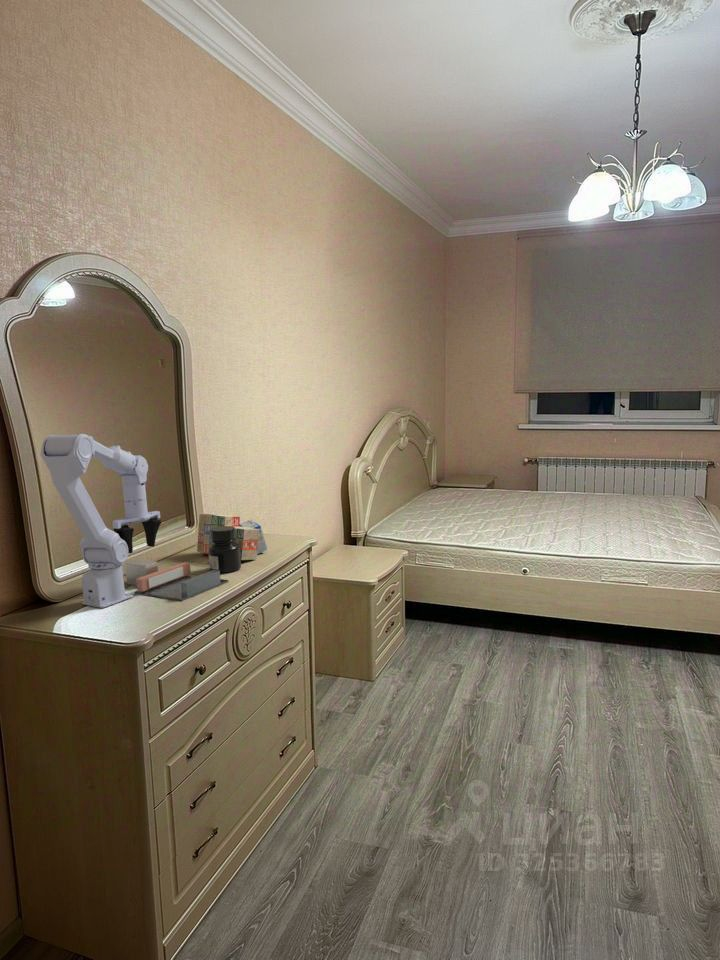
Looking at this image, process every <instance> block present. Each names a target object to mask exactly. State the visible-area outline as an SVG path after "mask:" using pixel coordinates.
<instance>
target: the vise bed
mask: <svg viewBox="0 0 720 960" xmlns="http://www.w3.org/2000/svg"><path fill="white" fill-rule="evenodd" d="M226 583H229V580H228V579H223V578H222V579H221V573H220V570H212V571H210V570H209V571H206V572H204V573H202V574H199V575H194V574H189V575H187V576H184V577H181V578H178V579H176V580H173V581H170V582H168V583H165V584H162V585H160V586H157V587H154V588H151V589H149V590H146V591H143V592H142V591H137V590H135V591H134V593H135V594H138V595H142V596H149V597H155V598H161V599H166V600H172V601H179V602H184V601H185V600H188V599H191V598H194V597H196V596H198V595H200V594H203V593H206V592H208V591H210V590H213V589H215V588H218V587H220V586H222V585H225V584H226Z"/></svg>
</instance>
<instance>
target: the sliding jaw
mask: <svg viewBox="0 0 720 960" xmlns="http://www.w3.org/2000/svg"><path fill="white" fill-rule="evenodd" d="M191 573H192V572H191V562H186V561H184V562H181V563H178V564H175V565H173V566H168V567H167V568H163V569H160V570H158V571H157V572H154V573H152V574H149V575H146V576H143V577H140V578H137V579H136V581H137V585H136V589H137V590H136V591H142V592H143V591H146V590H149V589H151V588H154V587H157V586H160V585H162V584H165V583H168V582H170V581H173V580H176V579H178V578H181V577H184V576H187V575H192V574H191Z"/></svg>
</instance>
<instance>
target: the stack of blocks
mask: <svg viewBox="0 0 720 960" xmlns="http://www.w3.org/2000/svg"><path fill="white" fill-rule="evenodd" d="M240 520H241V516H236V515H229V514H227V515H226V514H221V513H220V514H219V513H199V516H198V530H197V533H198V534H197V543H196V544H197V548H196V552H197V553H200V554H207V555H209V552H208V549H209V547H210V546H211V545H212V544H213V543H212V540H211V529H212V528H215V527H220V526H233V527H235V541H234V542H236V543H237V544H238V545H239V546H240V557H241V561H250V560H257V556H258V554H257V547H258V538H259V529H253V528H247V527H239V524H240Z"/></svg>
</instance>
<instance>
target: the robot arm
mask: <svg viewBox="0 0 720 960" xmlns="http://www.w3.org/2000/svg"><path fill="white" fill-rule="evenodd" d="M40 456H41V458H42V460H43V462H44V464H45V465H46V467H47V469H48V472H49V473H50V477H51V480H52V481H51V482H52V484H53V486H54V487H55V489H56V491H57V492H58V494H59V496H60V498H61V500H62V501H63V503H64V505H65V507H66V508H67V510H68V512H69V514H70V515H71V516H72V518H73V520H74V522H75V524H76V526H77V527H78V529H79V531H80V533H81V534H82V538H81V539H80V541H79V544H78V547H79V548H80V551H81V556H82V559H83V561H84V562H85V563H86V564H88V568H90V569H89V570H88V571H86V572H84V573H83V574H82V577H81V587H82V597H83V601H82V602H81V604H82V605H84V606H90V607H94V608H100V609H105V608H106V607H110V606H112V605H115V604H118V603H120V602H123V601H125V600H128V599H132V598H133V597H134V595H133V594H130V593H126V589H125V580H124V579H125V578H124V570H123V565H124V564H125V562H127V559H128V557H129V554H132V553H133V551H134V546H133V535H134V527H130V526H132V525H136V524H139V523H140V524H141V525H142V527H143V529H144V534H145V541H146V545H147V547H150V548H151V547H152V548H153V547H155V545H156V538H157V534H158V531H159V528H160V526H161V524H162V520H161V512H160V511H159V510H154V511H148V502H147V500H148V499H147V491H146V482H147V475H148V472H149V464H148V461H147V459H146V458H145V457H143V456H142V455H139V454H138V455H135V454H133V453H132V452H131V451H129V450H123V449H121V446H120V445H116V444H115V445H112V446H108V447H107V446H105V445H103V444H102V443H100V442H98V441H96V440H95V439H94V437H93V436H91V435H88V434H85V433H79V434H67V435H66V434H59V435H54V434H50V435H47V436H45V438H44V439H43V442H42V445H41V451H40ZM91 458H93V459H95V460H99V461H100V462H101V464H102V466H103V467H105V468H106V469H109V470H112V471H113V472H114V471H115V472H116V474H117V475H118V477H120V478H121V483H122V493H123V501H124V502H123V503H124V512H125V516H124V517H121V518H118V519H115V520H111V521H112V528H113V530H111V529H110V528H108V527H107V526H106V524H105V522H104V521H103V519H102V517H101V515H100V513H99V511H98V510H97V507H96V505H95V504H94V502H93V500H92V498H91V495H89V493H88V491H87V489H86V487H85V485H84V483H83V482H82V479H81V476H84V475H85V474H86V471H87V468H88V466H89V464H90V461H91Z"/></svg>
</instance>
